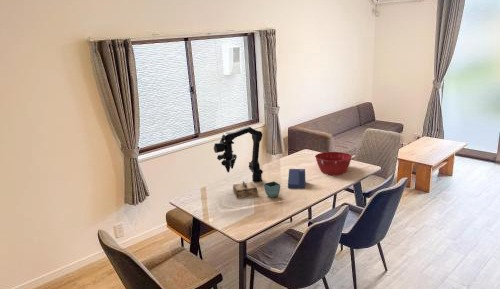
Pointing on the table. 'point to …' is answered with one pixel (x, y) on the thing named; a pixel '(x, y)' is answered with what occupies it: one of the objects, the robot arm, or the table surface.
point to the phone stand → (296, 178)
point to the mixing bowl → (333, 162)
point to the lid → (244, 186)
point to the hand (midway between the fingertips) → (230, 170)
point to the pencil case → (245, 192)
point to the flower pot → (272, 189)
